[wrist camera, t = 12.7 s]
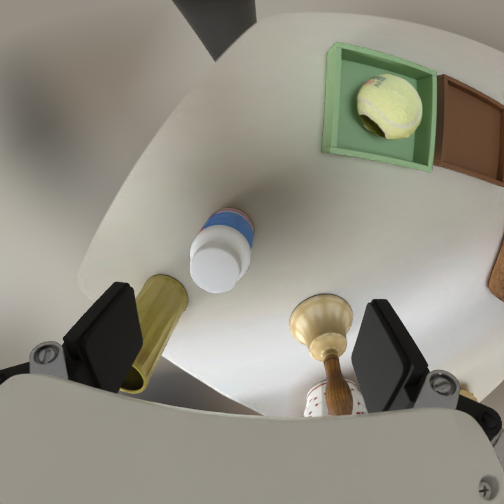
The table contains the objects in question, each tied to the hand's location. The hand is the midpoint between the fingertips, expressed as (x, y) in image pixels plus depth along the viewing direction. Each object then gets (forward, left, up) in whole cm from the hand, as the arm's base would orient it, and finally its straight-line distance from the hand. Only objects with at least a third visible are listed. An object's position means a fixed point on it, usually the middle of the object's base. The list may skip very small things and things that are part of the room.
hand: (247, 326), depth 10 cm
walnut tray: (-13, +26, -20) cm, 35 cm away
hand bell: (+14, +9, -21) cm, 26 cm away
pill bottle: (+3, -3, -21) cm, 21 cm away
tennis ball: (-12, +12, -20) cm, 26 cm away
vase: (+12, -11, -21) cm, 26 cm away
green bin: (-12, +11, -20) cm, 26 cm away
